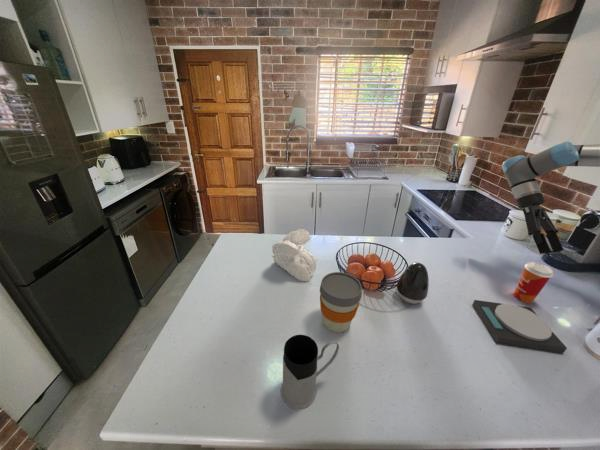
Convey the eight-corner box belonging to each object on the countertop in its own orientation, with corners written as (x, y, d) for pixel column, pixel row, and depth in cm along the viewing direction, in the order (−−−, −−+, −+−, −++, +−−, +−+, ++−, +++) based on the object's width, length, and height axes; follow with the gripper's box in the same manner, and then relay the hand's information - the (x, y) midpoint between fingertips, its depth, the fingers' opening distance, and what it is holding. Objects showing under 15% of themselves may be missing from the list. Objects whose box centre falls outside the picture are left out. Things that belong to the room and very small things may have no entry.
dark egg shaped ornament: (388, 292, 93) (396, 259, 86) (409, 285, 97) (418, 253, 90) (408, 311, 85) (419, 276, 78) (430, 303, 89) (443, 269, 82)
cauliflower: (320, 272, 88) (278, 235, 89) (291, 300, 98) (254, 267, 100) (334, 249, 104) (299, 218, 105) (308, 275, 114) (277, 247, 116)
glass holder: (276, 379, 63) (275, 338, 56) (326, 360, 68) (331, 321, 61) (287, 415, 56) (288, 374, 49) (342, 392, 60) (350, 351, 54)
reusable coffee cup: (333, 343, 72) (338, 305, 66) (309, 315, 82) (312, 279, 75) (364, 326, 79) (372, 289, 72) (338, 301, 88) (343, 267, 81)
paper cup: (509, 288, 98) (525, 258, 91) (534, 296, 94) (552, 266, 88) (510, 299, 92) (527, 268, 86) (537, 308, 88) (556, 277, 82)
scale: (527, 312, 86) (532, 305, 85) (562, 353, 72) (569, 345, 71) (472, 305, 89) (475, 297, 87) (495, 343, 75) (500, 335, 73)
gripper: (528, 202, 101) (550, 252, 95) (501, 197, 88) (525, 256, 82) (552, 194, 95) (577, 248, 89) (527, 188, 82) (555, 251, 76)
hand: (552, 252), depth 86 cm, fingers open, 13 cm apart
